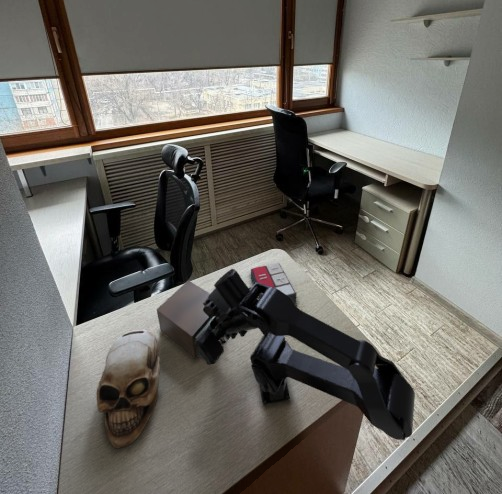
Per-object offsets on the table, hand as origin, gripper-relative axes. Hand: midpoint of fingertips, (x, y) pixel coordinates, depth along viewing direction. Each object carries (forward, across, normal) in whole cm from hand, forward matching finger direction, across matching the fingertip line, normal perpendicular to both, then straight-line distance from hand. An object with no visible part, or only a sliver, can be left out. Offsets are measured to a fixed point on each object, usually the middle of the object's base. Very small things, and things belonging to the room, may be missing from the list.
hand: (212, 326), depth 72 cm
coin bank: (+11, +19, -2) cm, 22 cm away
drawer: (+8, 0, -1) cm, 8 cm away
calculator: (+2, -25, +8) cm, 26 cm away
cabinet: (+10, 0, -2) cm, 11 cm away
